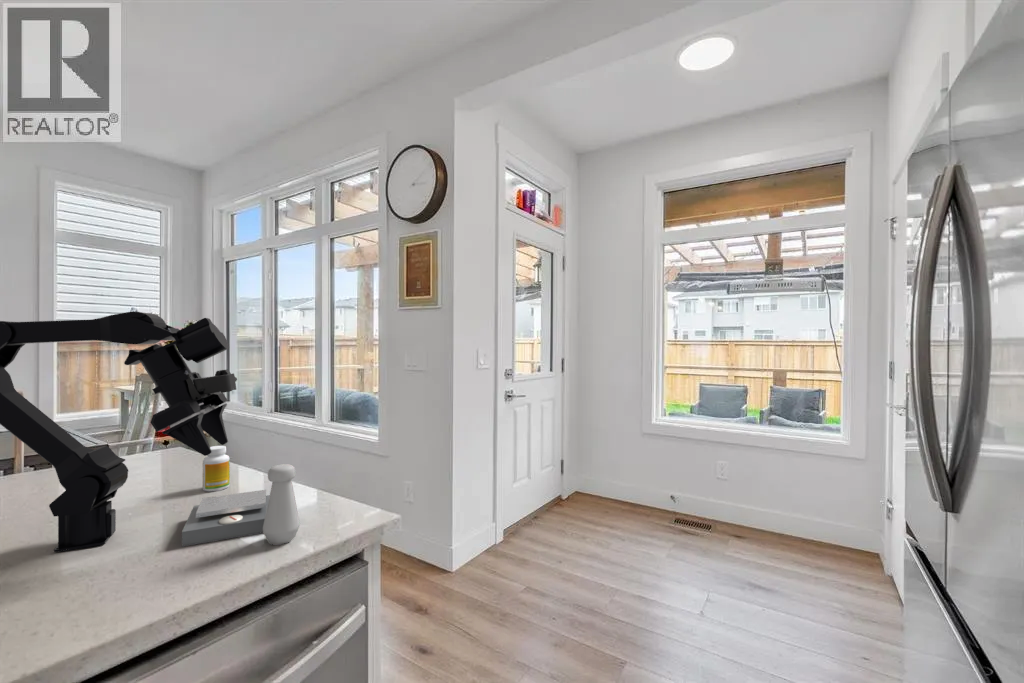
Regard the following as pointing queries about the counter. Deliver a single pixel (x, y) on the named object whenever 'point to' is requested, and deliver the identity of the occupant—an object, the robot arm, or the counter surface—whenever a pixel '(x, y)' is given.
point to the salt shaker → (281, 506)
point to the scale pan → (231, 503)
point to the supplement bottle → (216, 469)
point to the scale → (222, 525)
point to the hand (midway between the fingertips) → (217, 448)
